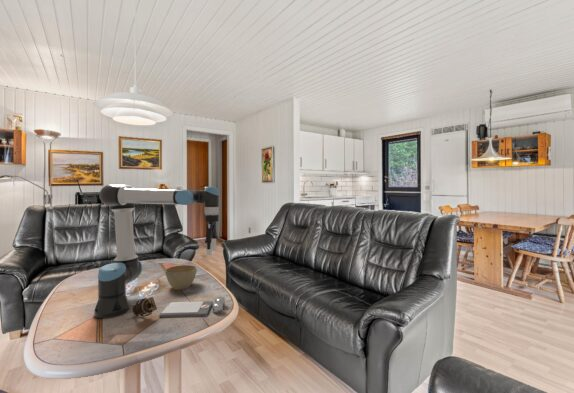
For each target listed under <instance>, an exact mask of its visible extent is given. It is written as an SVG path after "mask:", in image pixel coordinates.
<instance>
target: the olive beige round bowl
mask: <svg viewBox="0 0 574 393" xmlns="http://www.w3.org/2000/svg"><path fill="white" fill-rule="evenodd" d="M197 269H198V267H197V266H195V265H191V264H190V265H189V264H184V265H183V264H181V265H175V266H169V267H168V268H166V269H165V276H166V280H167V282H168V283H169V285H170V286H171V288H172V289H173V290H176V291H182V290H186V289H188V288H190V287H191V285H192V284H193V282H194V281H195V278H196V274H197Z"/></svg>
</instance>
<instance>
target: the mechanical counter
mask: <svg viewBox="0 0 574 393" xmlns="http://www.w3.org/2000/svg"><path fill="white" fill-rule="evenodd" d="M157 309H158V308H157V304H156V301H155V299H154V296H150V297H148V298H147V297H144V298H141V299H139V300H137V301H136V303H135V304H134V305H133V306H132V313H133V315H135V316H140V317H142V318H145V317H148V316H150V315H152V313H154V312H155V311H156V310H157Z"/></svg>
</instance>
